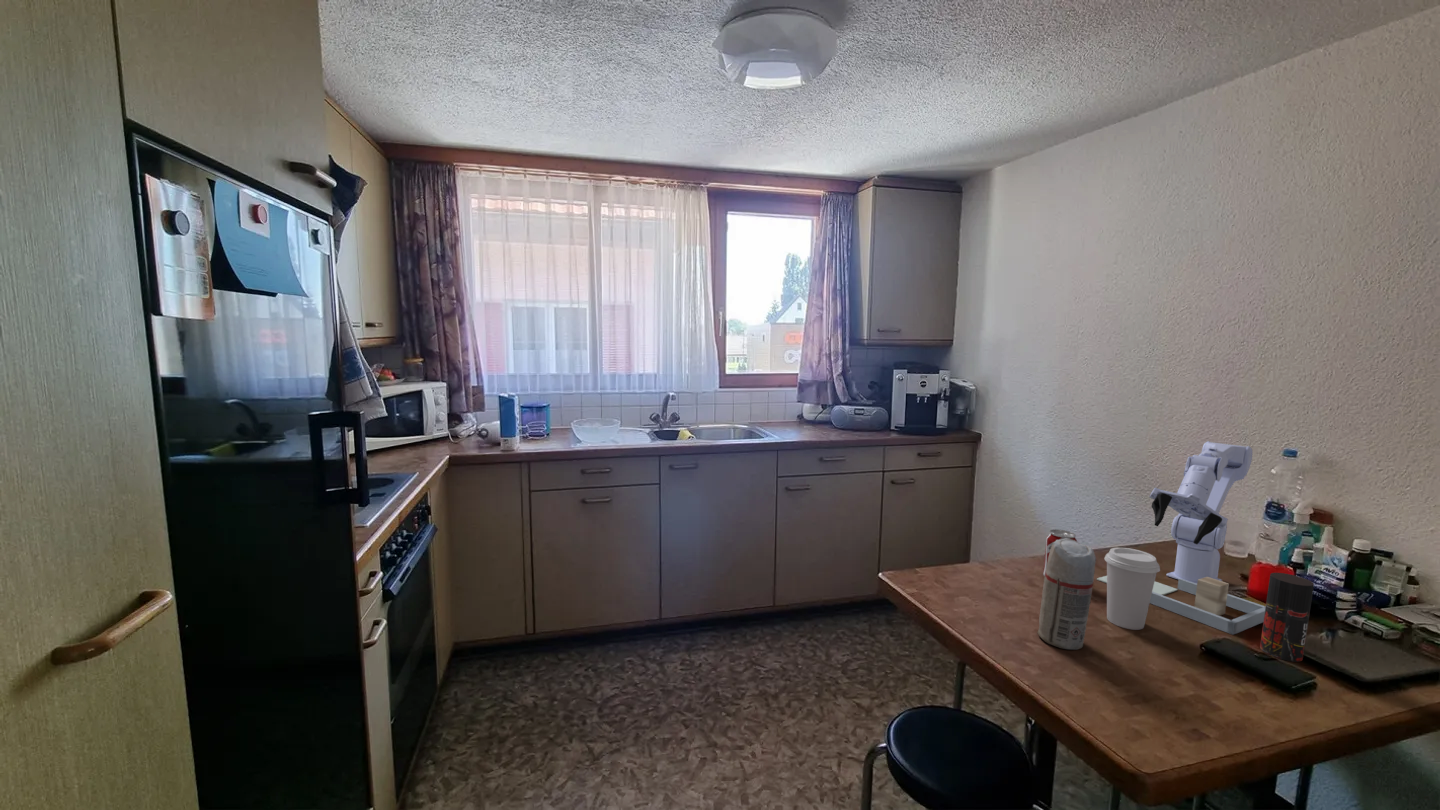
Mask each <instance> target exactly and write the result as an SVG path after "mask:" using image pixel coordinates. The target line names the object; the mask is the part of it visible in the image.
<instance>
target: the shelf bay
mask: <svg viewBox="0 0 1440 810" xmlns="http://www.w3.org/2000/svg"><path fill="white" fill-rule="evenodd" d="M1177 580H1178V579H1177ZM1176 589H1178V590H1179V591H1181V592H1185V593H1189V594H1192V595H1194V596H1196V590H1197V583H1193V582H1190V581H1187V580H1184V579H1181V578H1180V579H1179V580H1178V582H1177V588H1176ZM1149 604H1151V605H1154V606H1155V607H1159V608H1162V609H1165V610H1167V611H1169V612H1172V613H1175V614H1177V615H1179V616H1183V617H1185V618H1188V619H1191V620H1193V621H1196V622H1198V623H1200V624H1204V625H1205V626H1209V627H1212V628H1214V629H1217V630H1218V631H1222V632H1225V633H1227V634H1230V635H1232V636H1233V635H1236V634H1238V633H1241V632H1243V631H1245V630H1248V629H1250V628H1252V627H1255V626H1257V625H1259V624H1263V622H1264V615H1265V608H1266V605H1263V604H1259V603H1257V602H1253V601H1250V600H1248V599H1244V598H1241V597H1238V596H1235V595H1232V594H1229V593H1228V594H1227V602H1226V607H1229V608H1232V609H1234V610H1236V611H1237V610H1238V611H1240V612H1243V613H1245V614H1243V615H1240V616H1238V617H1236V618H1233V619H1229V618H1227V617H1224V616H1222V615H1221V616H1218V615H1215V614H1213V613H1210V612H1207V611H1204V610H1202V609H1199V608H1196V607H1194V605H1191V604H1187V603H1185V602H1182V601H1179V600H1176V599H1174V598H1171V597H1169V596H1166V595H1161V594H1158V593H1155V592H1152V594H1151V599H1150V603H1149Z"/></svg>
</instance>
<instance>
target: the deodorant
mask: <svg viewBox="0 0 1440 810" xmlns="http://www.w3.org/2000/svg"><path fill="white" fill-rule="evenodd" d="M1314 583H1315V582H1313V581H1311V580H1310V579H1307V578H1305V577H1302V576H1299V575H1294V574H1289V573H1285V572H1284V573H1283V572H1271V573H1270V575H1269V581H1268V587H1267V589H1268V590H1267V595H1266V602H1265V606H1266V608H1265V615H1264V622H1262V628H1261V629H1262V630H1261V635H1260V636H1261V638H1260V642H1259V643H1260V645H1259V648H1260V650H1261V651H1262V652H1264V654H1266V655H1269V656H1271V655H1272V656H1271V657H1273V656H1274V658H1277V659H1279V660H1283V661H1288V662H1293V663H1298V662H1302V661H1303V658H1304V652H1305V646H1306V641H1307V640H1306V639H1307V633H1308V626H1309V621H1310V620H1309V619H1310V612H1311V608H1312V607H1311V606H1312V600H1313V593H1314V586H1315V584H1314Z"/></svg>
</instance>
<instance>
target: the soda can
mask: <svg viewBox="0 0 1440 810" xmlns="http://www.w3.org/2000/svg"><path fill="white" fill-rule="evenodd" d="M1076 537H1077V536H1076V534H1075V533H1073V532H1071V531H1068V530H1063V529H1051V530H1050V531H1049V534H1048V535H1046V538H1045V540H1046V541H1045V549H1044V560H1043V568H1042V569H1043V570H1042V575H1043V577H1045V573H1046V568H1047V562H1048V557H1049V553H1050V550H1051V547H1052V544H1053V543H1054V542H1055V541H1056V540H1061V539H1065V538H1067V539H1072V540H1075V541H1077V542H1078V540H1077V538H1076Z"/></svg>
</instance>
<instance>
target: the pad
mask: <svg viewBox="0 0 1440 810" xmlns="http://www.w3.org/2000/svg"><path fill="white" fill-rule="evenodd" d="M1096 580H1097V581H1099V582H1102V583H1105V584H1107V575H1103V576H1099V577H1098V578H1096ZM1178 590H1179V589H1177V588H1175V587H1172V586H1170V585H1166V584H1164V583H1161V582H1158V581H1156V580H1155V582H1154V586H1153V590H1152V592H1155V593H1158V594H1161V595H1163V596H1166V595H1168V594H1171V593H1174V592H1177V591H1178Z"/></svg>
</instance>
